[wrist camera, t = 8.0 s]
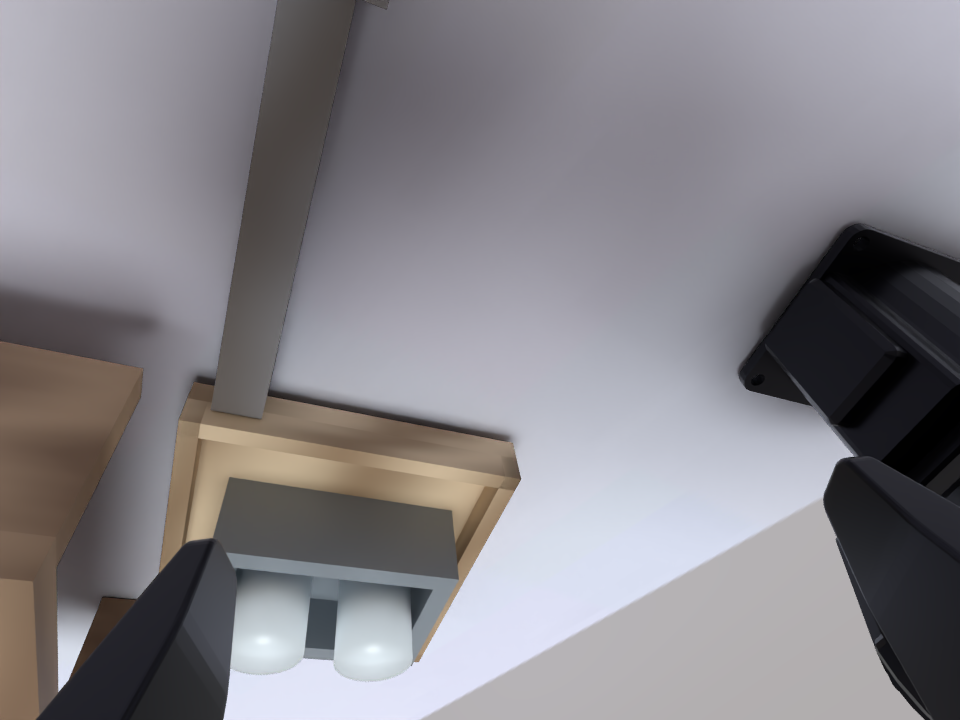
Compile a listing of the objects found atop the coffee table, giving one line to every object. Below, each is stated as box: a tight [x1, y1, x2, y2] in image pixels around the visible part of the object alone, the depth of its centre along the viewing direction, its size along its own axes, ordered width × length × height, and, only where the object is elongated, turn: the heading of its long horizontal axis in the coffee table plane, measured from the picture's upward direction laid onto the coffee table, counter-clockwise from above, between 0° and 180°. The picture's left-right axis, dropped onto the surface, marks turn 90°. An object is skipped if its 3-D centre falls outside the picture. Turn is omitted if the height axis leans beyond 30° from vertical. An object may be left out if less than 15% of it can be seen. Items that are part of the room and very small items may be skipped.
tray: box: [213, 477, 459, 682], centre depth 22 cm, size 8×6×4 cm
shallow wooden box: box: [159, 0, 521, 662], centre depth 18 cm, size 11×27×6 cm, turn 159°
